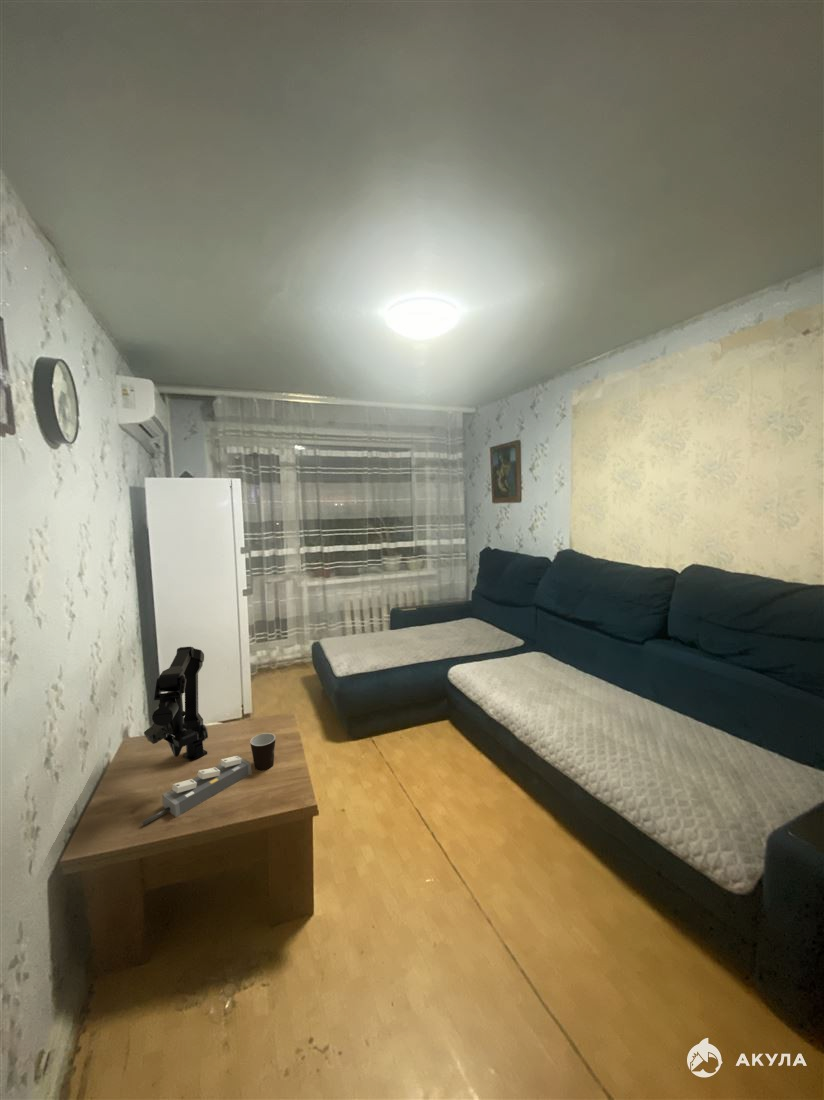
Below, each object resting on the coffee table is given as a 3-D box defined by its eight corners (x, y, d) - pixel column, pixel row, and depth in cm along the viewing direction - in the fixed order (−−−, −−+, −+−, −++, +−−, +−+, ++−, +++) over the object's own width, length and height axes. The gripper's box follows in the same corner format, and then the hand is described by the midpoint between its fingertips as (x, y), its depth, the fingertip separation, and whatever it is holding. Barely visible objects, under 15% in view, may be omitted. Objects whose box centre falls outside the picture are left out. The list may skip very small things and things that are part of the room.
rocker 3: (219, 764, 151) (220, 759, 151) (235, 760, 156) (236, 755, 156) (225, 767, 149) (226, 762, 149) (240, 763, 154) (241, 758, 154)
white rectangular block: (172, 789, 138) (173, 783, 138) (190, 784, 143) (191, 779, 143) (177, 793, 136) (178, 787, 136) (195, 787, 141) (196, 782, 141)
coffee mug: (269, 774, 154) (267, 747, 153) (246, 771, 156) (245, 744, 155) (285, 755, 166) (283, 730, 164) (264, 753, 167) (262, 728, 166)
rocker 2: (197, 775, 144) (198, 770, 144) (213, 772, 149) (215, 767, 149) (202, 779, 142) (203, 774, 143) (219, 775, 147) (220, 770, 147)
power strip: (136, 820, 132) (135, 807, 132) (237, 766, 159) (237, 755, 159) (149, 832, 127) (148, 819, 127) (251, 773, 154) (250, 762, 154)
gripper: (133, 712, 142) (137, 758, 144) (161, 729, 131) (165, 778, 133) (168, 700, 151) (172, 743, 153) (197, 714, 140) (200, 760, 142)
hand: (176, 756), depth 145 cm, fingers closed
